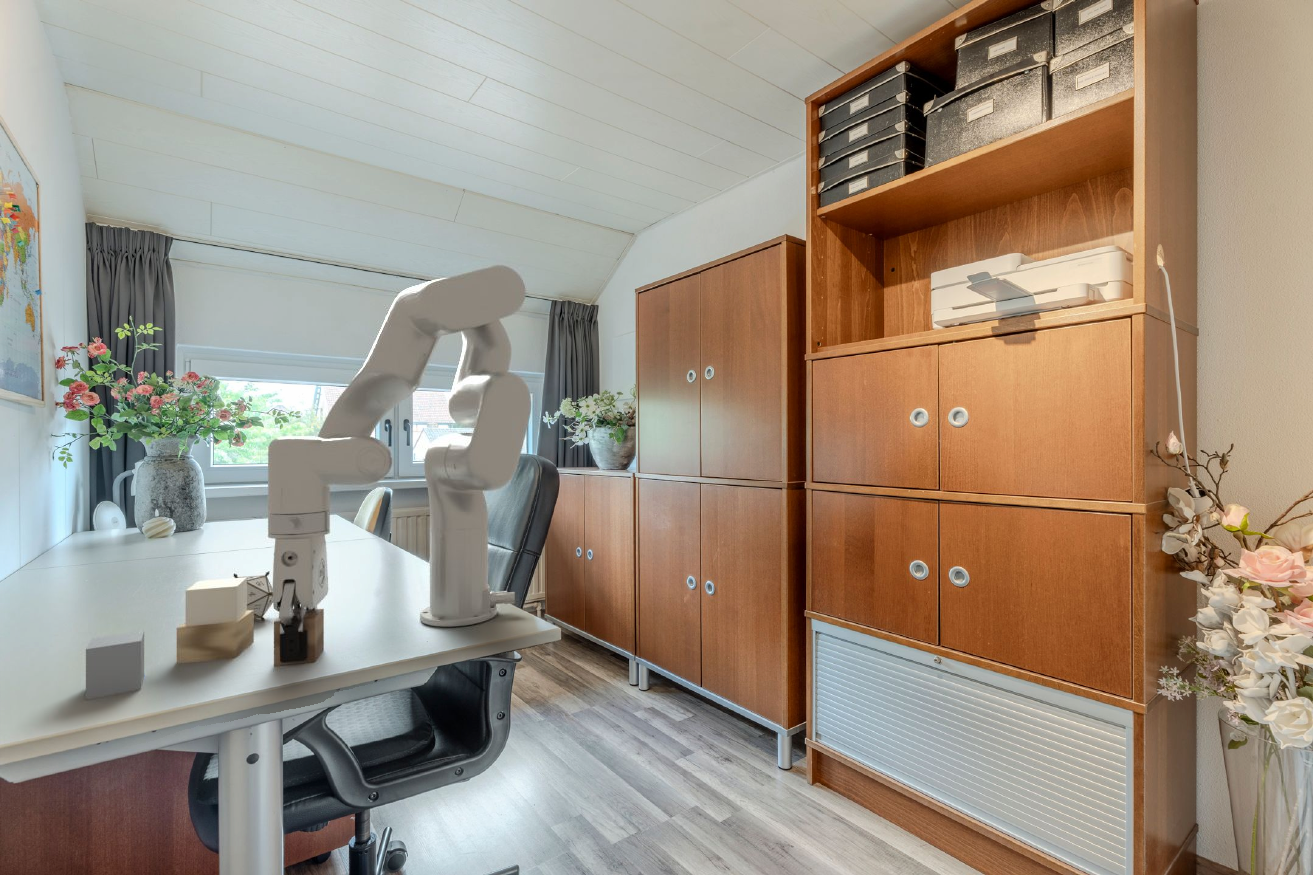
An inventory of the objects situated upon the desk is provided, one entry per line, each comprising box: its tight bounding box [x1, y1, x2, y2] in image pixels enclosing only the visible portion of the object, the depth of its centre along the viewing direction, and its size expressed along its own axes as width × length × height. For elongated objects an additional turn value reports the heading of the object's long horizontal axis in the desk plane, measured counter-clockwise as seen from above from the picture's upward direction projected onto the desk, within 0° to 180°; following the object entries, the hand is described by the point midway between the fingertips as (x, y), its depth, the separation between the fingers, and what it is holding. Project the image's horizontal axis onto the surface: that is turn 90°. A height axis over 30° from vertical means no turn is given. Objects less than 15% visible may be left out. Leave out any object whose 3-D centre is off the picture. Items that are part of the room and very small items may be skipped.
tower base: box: [176, 610, 255, 664], centre depth 88 cm, size 7×7×5 cm
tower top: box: [185, 577, 247, 627], centre depth 88 cm, size 6×6×5 cm
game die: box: [233, 570, 273, 623], centre depth 103 cm, size 9×8×10 cm
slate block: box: [85, 630, 145, 701], centre depth 76 cm, size 5×5×6 cm
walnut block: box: [273, 608, 325, 667], centre depth 86 cm, size 5×5×6 cm
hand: (299, 652), depth 86 cm, fingers closed on walnut block, 5 cm apart
